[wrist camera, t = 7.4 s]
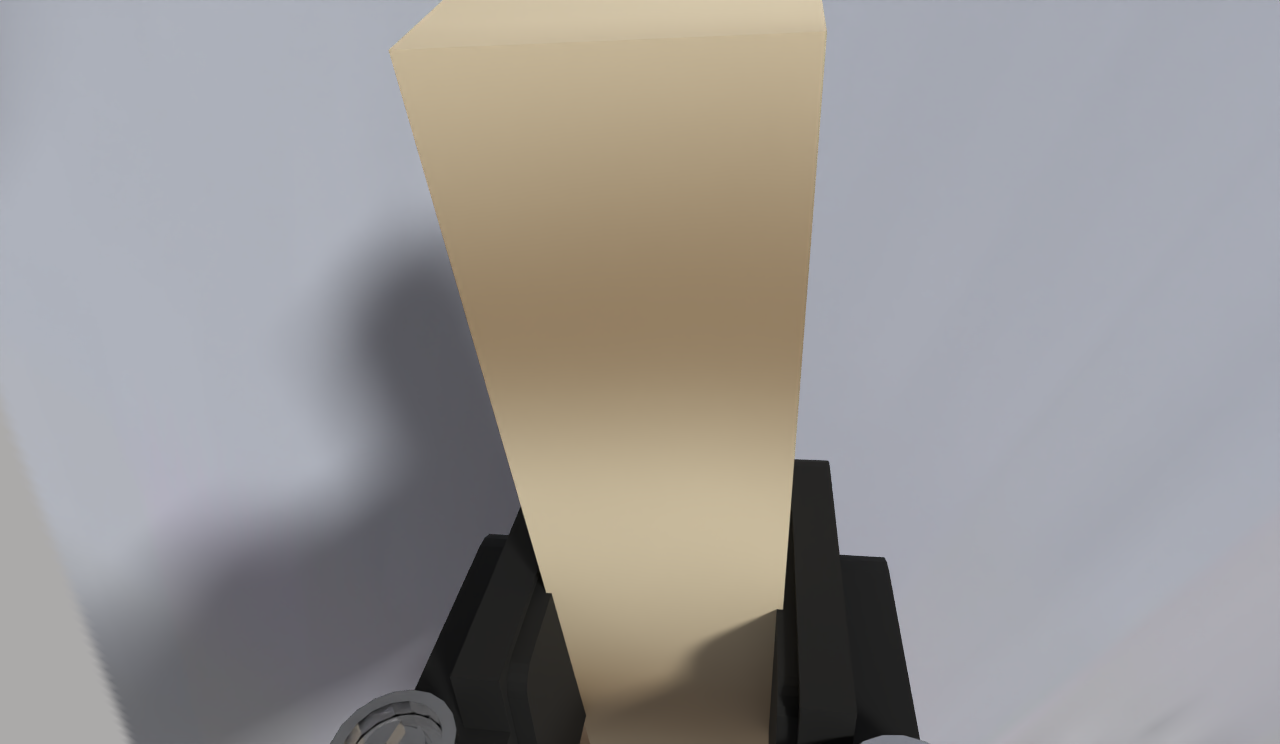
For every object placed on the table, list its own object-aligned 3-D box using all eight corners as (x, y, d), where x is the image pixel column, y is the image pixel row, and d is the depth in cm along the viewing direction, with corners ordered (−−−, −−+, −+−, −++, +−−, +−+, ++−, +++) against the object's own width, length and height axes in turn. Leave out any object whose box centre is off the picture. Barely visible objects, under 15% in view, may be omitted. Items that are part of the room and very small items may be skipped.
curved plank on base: (313, -63, 8) (-133, 170, 4) (1069, -114, 6) (1466, 139, 3) (580, 765, 21) (538, 999, 17) (845, 793, 20) (862, 1049, 16)
